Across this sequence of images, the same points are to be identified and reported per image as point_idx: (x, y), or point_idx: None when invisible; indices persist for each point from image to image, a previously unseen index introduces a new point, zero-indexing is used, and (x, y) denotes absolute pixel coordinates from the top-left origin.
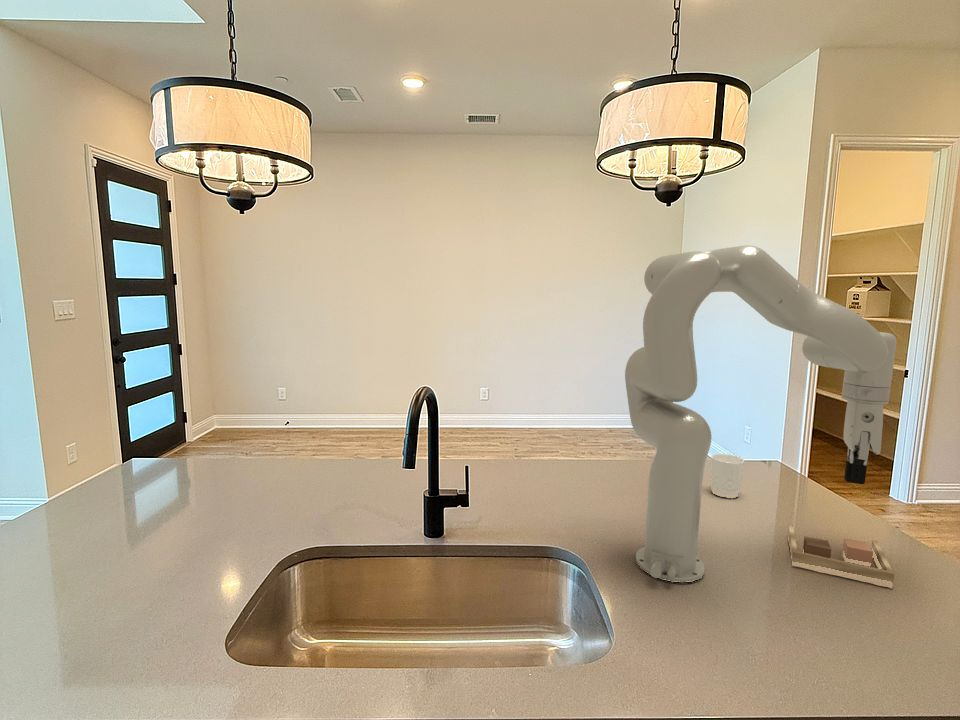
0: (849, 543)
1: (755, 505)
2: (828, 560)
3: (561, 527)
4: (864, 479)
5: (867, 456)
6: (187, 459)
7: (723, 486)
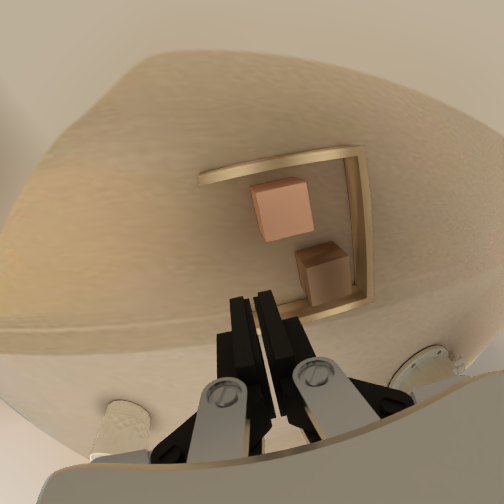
0: (292, 229)
1: (129, 379)
2: (372, 251)
3: None
4: (273, 302)
5: (367, 408)
6: None
7: (147, 431)
